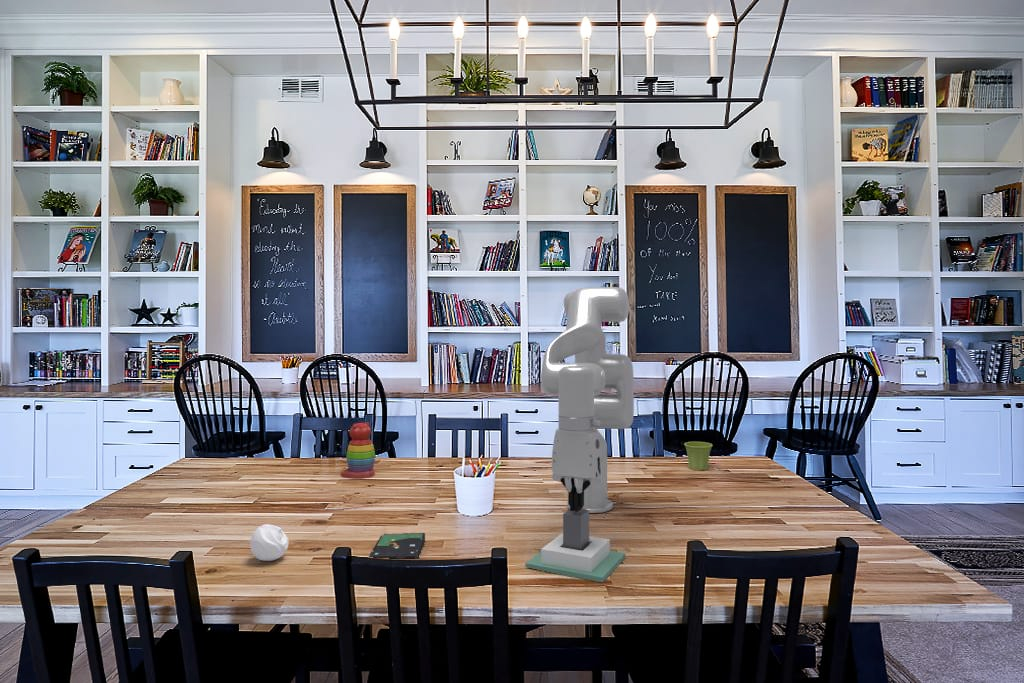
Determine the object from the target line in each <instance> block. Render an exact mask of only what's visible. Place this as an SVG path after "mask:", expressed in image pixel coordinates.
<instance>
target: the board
mask: <svg viewBox="0 0 1024 683" xmlns="http://www.w3.org/2000/svg"><path fill="white" fill-rule="evenodd" d="M540 550H541V551H539V552H538V553H537V554H535V555H534V556H533V557H531V558H530V559H529V560H527V561H526V562H525V563H524V565H525V567H527V568H526V569H528V568H533V569H537V570H536V571H539V570H542V571H541V572H544V571H547V572H546V573H549V572H551V574H554V573H556V574H555V575H560V574H561V575H560V576H565V575H566V577H570V576H571V578H577V579H581V580H582V579H583V580H586V579H587V580H588V581H593V582H598V583H602V584H603V583H604V582H605V581H606V580H607V578H608V577H609V576H610V575H611V574H612V573H613V572H614V571H615V570H616V568H618V567H619V565H620V564H621V563H622V562H623V561H624V560H625V559H626V552H621V551H615V550H611V539H609V538H603V537H596V536H590V535H589V545H588V546H587V547H586V548H585V549H584V550H583V551H581V550H575V549H569V548H563V532H562V533H560V534H559V535H558V536H556V537H555V538H554V539H553V540H551V541H550V542H549V543H547V544H546V545H545V546H543V547H542V548H541V549H540ZM525 567H524V568H525ZM533 569H532V570H533Z"/></svg>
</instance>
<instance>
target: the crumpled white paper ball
mask: <svg viewBox="0 0 1024 683" xmlns="http://www.w3.org/2000/svg"><path fill="white" fill-rule="evenodd" d="M289 544H290V540H289V538H288V536H287V534H286V533H285V532H284V531H283V530H282V528H281V527H280V526H277V525H273V524H265V523H264V524H262V525H260V526H259V527H257V528H256V529H255V530H254V532H253V533H252V535H251V538H250V545H249V546H250V550H251V553H252V554H253V556H254V557H255V558H256V559H258V560H260V561H263V562H271V561H275V560H277V559H279V558H281V557H283V556H284V555H285V553H286V551H287V550H288V547H289Z"/></svg>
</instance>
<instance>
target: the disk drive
mask: <svg viewBox="0 0 1024 683" xmlns="http://www.w3.org/2000/svg"><path fill="white" fill-rule="evenodd" d="M424 543H425V544H426V533H425V532H409V533H408V532H402V533H386V532H385V533H383V534H382V535H381V536H379V538H378V540H377V541H376V543H375V545H374V547H373V548H372V550H371V551H370V553H369V556H368V558H369V557H373V558H388V559H420V557H419V555H420V556H421V554H422V552H421V550H422V551H423V549H422V548H424V547H425V544H424ZM423 546H424V547H423ZM420 553H421V554H420Z"/></svg>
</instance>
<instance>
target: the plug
mask: <svg viewBox="0 0 1024 683" xmlns="http://www.w3.org/2000/svg"><path fill="white" fill-rule="evenodd" d="M562 533H563V548H569V549H575V550H581V551H583V550H584V549H585V548H586V547H587V546H588V545H589V536H590V513H589V510H587V508H584V507H582V509H581V510H579V511H578V512H575V511H570V509H569V508H568V510H566V511H564V512H563V514H562Z"/></svg>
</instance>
